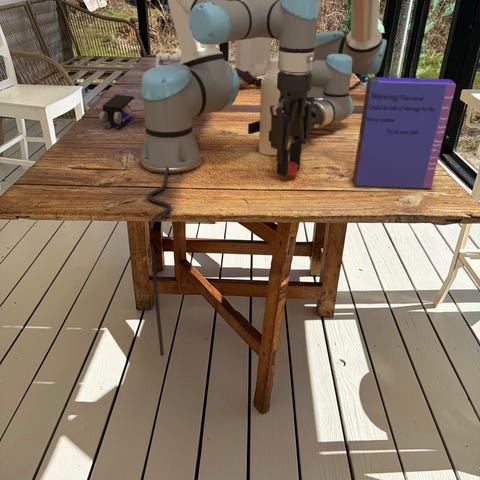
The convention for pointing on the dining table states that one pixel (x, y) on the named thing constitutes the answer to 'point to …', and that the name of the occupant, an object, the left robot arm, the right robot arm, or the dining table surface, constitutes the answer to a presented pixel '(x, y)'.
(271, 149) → the bottle
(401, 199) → the dining table surface
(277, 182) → the dining table surface
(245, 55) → the tall white box
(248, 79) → the figurine
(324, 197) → the dining table surface
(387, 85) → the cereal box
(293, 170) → the cap
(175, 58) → the toy
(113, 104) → the figurine character
